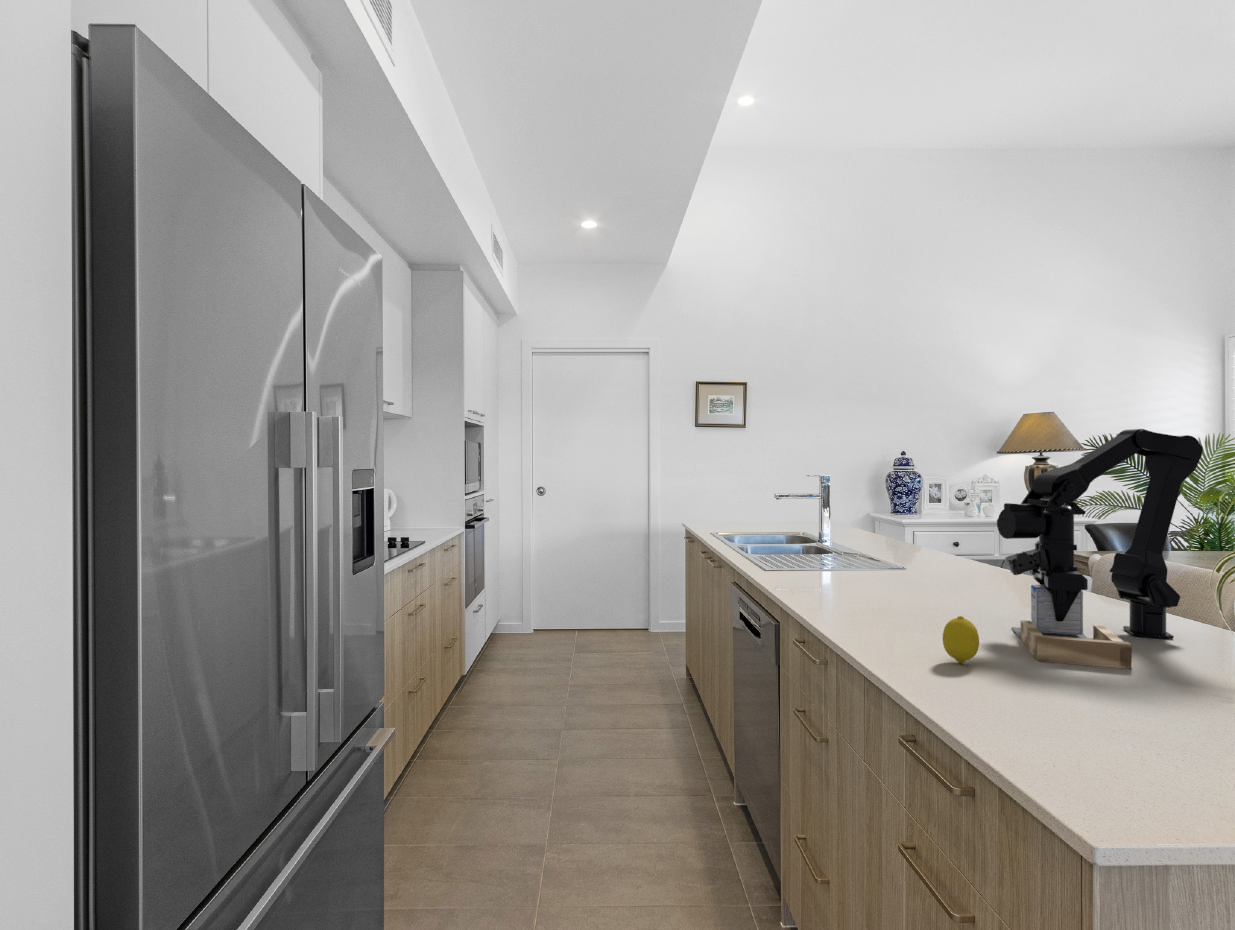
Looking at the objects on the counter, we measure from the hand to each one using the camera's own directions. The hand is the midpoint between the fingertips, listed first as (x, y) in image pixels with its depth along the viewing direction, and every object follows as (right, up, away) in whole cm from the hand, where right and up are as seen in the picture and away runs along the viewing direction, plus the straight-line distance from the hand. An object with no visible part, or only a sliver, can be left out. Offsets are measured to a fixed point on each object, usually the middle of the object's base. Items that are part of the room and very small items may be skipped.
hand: (1056, 618), depth 134 cm
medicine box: (0, -3, 0) cm, 3 cm away
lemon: (-27, -4, -17) cm, 33 cm away
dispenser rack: (-4, -4, -11) cm, 12 cm away
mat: (-1, -3, 0) cm, 4 cm away
